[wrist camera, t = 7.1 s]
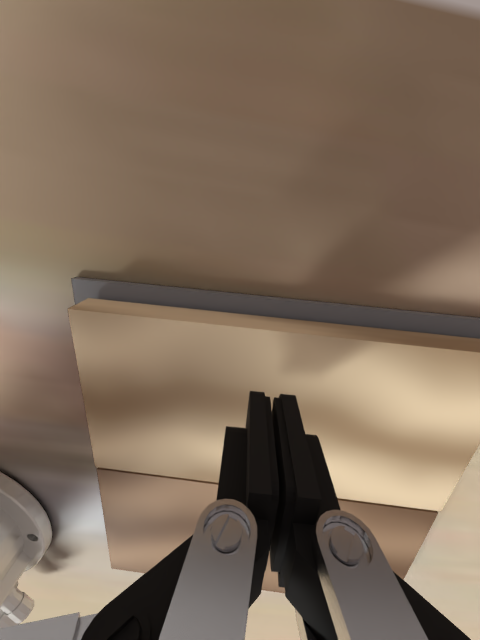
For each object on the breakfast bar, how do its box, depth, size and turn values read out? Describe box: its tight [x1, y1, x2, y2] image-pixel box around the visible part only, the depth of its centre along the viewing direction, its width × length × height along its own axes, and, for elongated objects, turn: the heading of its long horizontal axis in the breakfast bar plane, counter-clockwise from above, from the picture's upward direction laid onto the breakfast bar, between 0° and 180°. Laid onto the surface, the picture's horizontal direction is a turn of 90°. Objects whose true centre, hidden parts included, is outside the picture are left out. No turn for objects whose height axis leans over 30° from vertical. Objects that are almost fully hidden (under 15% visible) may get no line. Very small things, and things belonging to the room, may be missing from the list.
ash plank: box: [68, 298, 480, 511], centre depth 15 cm, size 10×20×2 cm, turn 85°
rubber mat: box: [71, 277, 480, 339], centre depth 18 cm, size 22×22×1 cm
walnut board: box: [97, 467, 438, 593], centre depth 18 cm, size 10×20×2 cm, turn 85°
